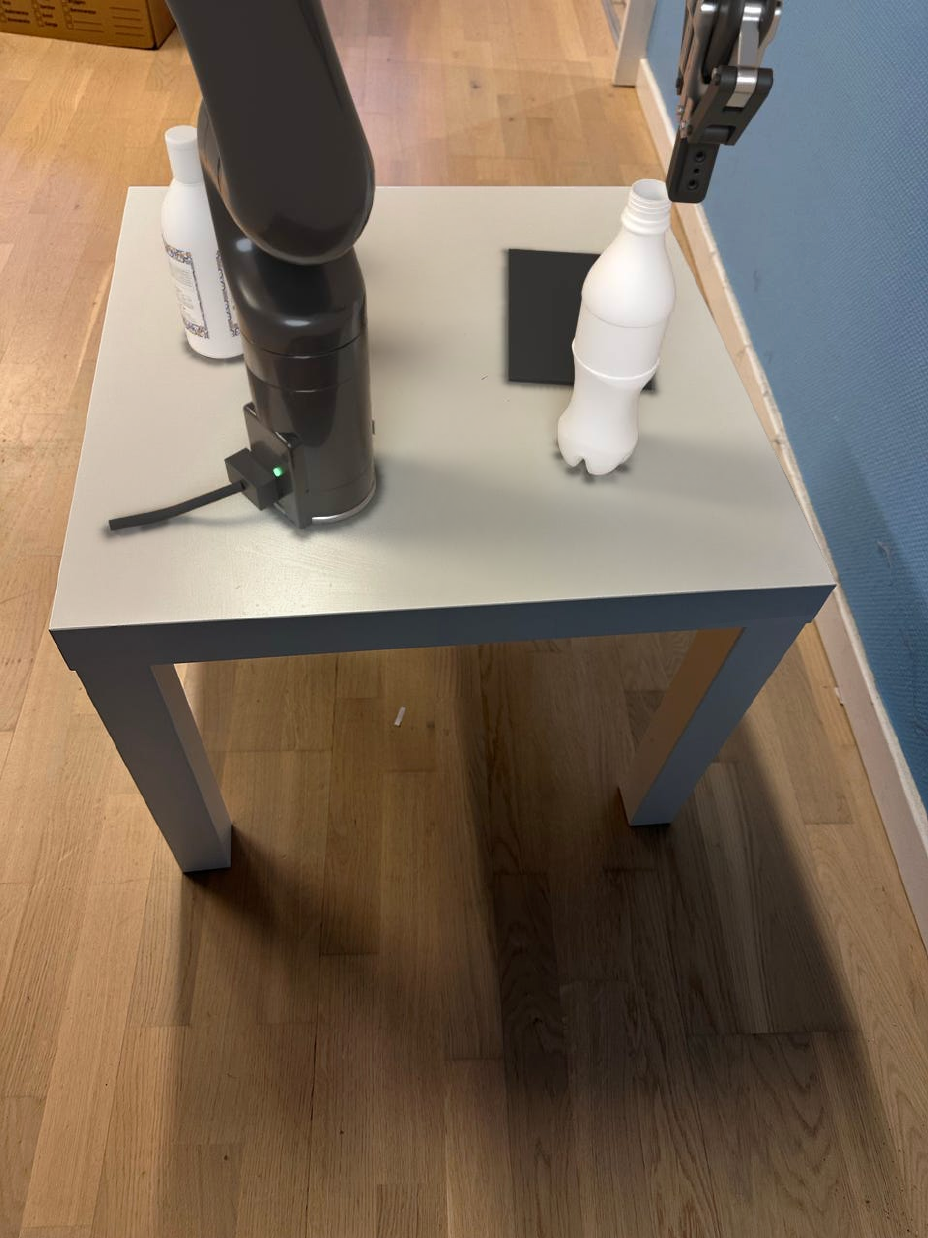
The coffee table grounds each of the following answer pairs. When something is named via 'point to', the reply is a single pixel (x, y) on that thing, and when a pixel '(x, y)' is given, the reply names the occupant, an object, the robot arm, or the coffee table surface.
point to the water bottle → (620, 333)
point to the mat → (545, 314)
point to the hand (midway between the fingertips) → (683, 196)
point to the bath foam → (196, 253)
